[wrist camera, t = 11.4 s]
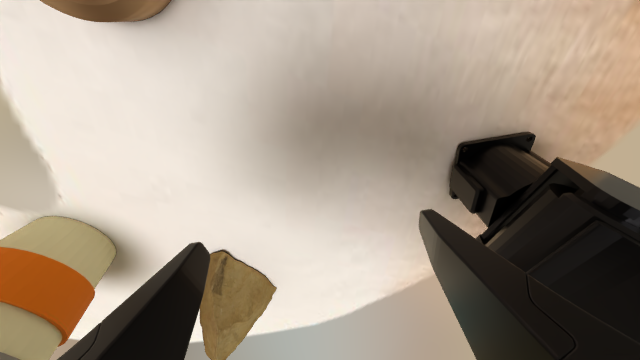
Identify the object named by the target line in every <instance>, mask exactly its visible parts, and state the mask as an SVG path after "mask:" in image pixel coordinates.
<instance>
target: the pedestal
mask: <svg viewBox="0 0 640 360" xmlns="http://www.w3.org/2000/svg"><path fill="white" fill-rule="evenodd" d="M40 1H42V2H43V3H45V4H47V5H48V6H50V7H52V8H54V9H56V10H58V11H60V12H63V13H65V14H67V15H70V16H72V17H76V18H79V19H83V20H88V21H94V22H131V21H140V20H145V19H148V18H151V17H153V16H154V15H156V14H158V13H159V12H161V11H162V10H163V9H164V8H165V7H166V6H167V5H168V3H169V2H170V1H171V0H40Z"/></svg>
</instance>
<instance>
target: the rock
mask: <svg viewBox="0 0 640 360" xmlns="http://www.w3.org/2000/svg"><path fill="white" fill-rule="evenodd" d="M275 291H276V287H274V286H272V284H271V283H270V282H269V280H268V279H267V278H266V276H264V275H262V274H261V273H259V272H258V271H257V270H254V269H253V268H251V267H248V266H247V265H245V264H244V263H242V262H240V261H237V260H235V259H233V258H232V257H231V256H229V255H228V254H227V253H225V252H223V251H221V252H217V253H212V254H210V264H209V269H208V275H207V280H206V285H205V290H204V294H203V298H202V302H201V305H200V324H201V326H202V333H203V340H204V345H205V352H206V354H207V356H208V357H209V358H210V359H211V360H226V358H227V357H228V356H229V355H230V354H231V353H232V352H233V351H234V350H235V349H236V347H237V346H238V345H239V344H240V343H241V342H242V340H243V339H244V338H245V336H246V335H247V333H248V332H249V331H250V329H251V328H252V327H253V325H254V323H255V322H256V321H257V319H258V318H259V317H260V316H261V315H262V314H263V312H264V311H265V309H266V308H267V305H268V304H269V302H270V301H271V299H272V295H273V293H274V292H275Z"/></svg>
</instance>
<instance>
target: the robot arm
mask: <svg viewBox="0 0 640 360" xmlns="http://www.w3.org/2000/svg"><path fill="white" fill-rule="evenodd" d="M528 137H529V138H528ZM535 137H536V136H535V135H534V134H532V133H531V132H526V133H520V134H514V135H508V136H502V137H495V138H489V139H483V140H477V141H471V142H465V143H462V144H460V145H459V146H458V149H457V154H456V160H455V165H454V166H453V169H452V175H451V181H450V187H451V188H450V196H451V197H452V198H453V199H460V200H461V201H462V203H463V204H464V205H465V206H466V208H467V209H468V210H469V211H470V212H471V213H472V214H474V213H476V214H477V215H478V216H479V217H480V218H481V220H482V221H483V222H484V223H485V225H486V226H487V227H488V229H487V230H486V231H485V232H484V233H483V234H482V235H481V234H480V235H479V236H478V237H477V238H476V239H475V238H474V237H472V236H471V235H469V234H468V233H466V232H465V231H463V230H462V229H461V228H459V227H458V226H456V225H455V224H453V223H452V222H450V221H449V220H447V219H446V218H444V217H443V216H441V215H440V214H438V213H437V212H436V211H434V210H432V209H428V210H422V211H421V212H420V218H419V230H420V233H421V236H422V239H423V242H424V245H425V247H426V250H427V253H428V256H429V259H430V262H431V265H432V267H433V270H434V272H435V274H436V276H437V278H438V280H439V282H440V284H441V286H442V289H443V290H444V293H445V295H446V297H447V299H448V301H449V303H450V305H451V307H452V309H453V311H454V313H455V316H456V318H457V320H458V322H459V324H460V326H461V328H462V330H463V332H464V334H465V336H466V338H467V340H468V343H469V344H470V347H471V349H472V351H473V353H474V355H475V357H476V359H477V360H640V188H639V187H637V186H635V185H633V184H631V183H629V182H627V181H625V180H623V179H620V178H618V177H616V176H614V175H612V174H610V173H607V172H605V171H602V170H599V169H595V168H592V167H589V166H585V165H582V164H579V163H575V162H572V161H569V160H565V159H562V158H559V157H557V158H556V159H555V160H554V161H553V162H552V163H549V162H547V161H546V160H544V159H543V158H541V157H539V156H538V155H536V154H535V153H533V152H531V148H532V145H533V143H534V140H535ZM527 138H528V139H527ZM464 147H466V148H465V149H464V150H463V148H464ZM209 264H210V254H209V252H208V251H207V249H206V248H205V247H204V245H203V244H202V243H201V242H196V243H191V244H189V245H188V246H187V247H185V248H184V249H183V250H182V251H181V252H180V253H179V254H178V255H176V256H175V257H174V258H173V259H172V260H171V261H170V262H168V263H167V264H166V265H165V266H164V267H163V268H162V269H161V270H159V271H158V272H157V273H156V274H155V275H154V276H153V277H151V278H150V279H149V280H148V281H147V282H146V283H145V284H144V285H142V286H141V287H140V288H139V289H138V290H137V291H136V292H134V293H133V294H132V295H131V296H130V297H129V298H128V299H127V300H125V301H124V302H123V303H122V304H121V305H120V306H119V307H117V308H116V309H115V310H114V311H113V312H112V313H111V314H109V315H108V316H107V317H106V318H105V319H104V320H103V321H102V323H99V324H98V325H97V326H96V327H95V328H94V329H92V330H91V331H90V332H89V333H88V334H87V335H86V336H84V337H83V338H82V339H81V340H80V341H79V342H77V343H76V344H75V345H74V346H73V347H72V348H71V349H69V350H68V351H67V352H66V353H65V354H63V355H62V356H61V357H60V358H58V359H57V360H184V358H185V355H186V352H187V348H188V345H189V342H190V338H191V335H192V332H193V328H194V325H195V322H196V318H197V315H198V312H199V308H200V305H201V302H202V298H203V294H204V290H205V285H206V280H207V275H208V269H209Z"/></svg>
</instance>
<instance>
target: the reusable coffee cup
mask: <svg viewBox="0 0 640 360" xmlns="http://www.w3.org/2000/svg"><path fill="white" fill-rule="evenodd" d="M115 256H116V248H115V246H114V244H113V243H112V241H111V240H110V239H109V238H108V237H107V236H106V235H104V234H103V233H102V232H100V231H99V230H97V229H95V228H93V227H92V226H90V225H87V224H85V223H83V222H80V221H77V220H74V219H70V218H65V217H58V216H47V217H42V218H39V219H37V220H35V221H33V222H31V223H30V224H28V225H26V226H24V227H23V228H21V229H19V230H17V231H15V232H14V233H12V234H10V235H8V236H7V237H5V238H3V239H1V240H0V360H49V359H50V358H51V356H52V354H53V353H54V351H55V350H56V348H57V347H58V346H61V345H63V344H64V343H65V342H66V341H67V340H68V338H69V336H70V335H71V333H72V332H73V330H74V328H75V327H76V325H77V324H78V322H79V320H80V319H81V317H82V316H83V314H84V313H85V311H86V309H87V308H88V306H89V305H90V303H91V301H92V300H93V298H94V295H95V291H94V289H95V287H96V286H97V284H98V283H99V281H100V280H101V278H102V276H103V275H104V273H105V272H106V270H107V269H108V267H109V266H110V264H111V262H112V261H113V259H114V258H115Z"/></svg>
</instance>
